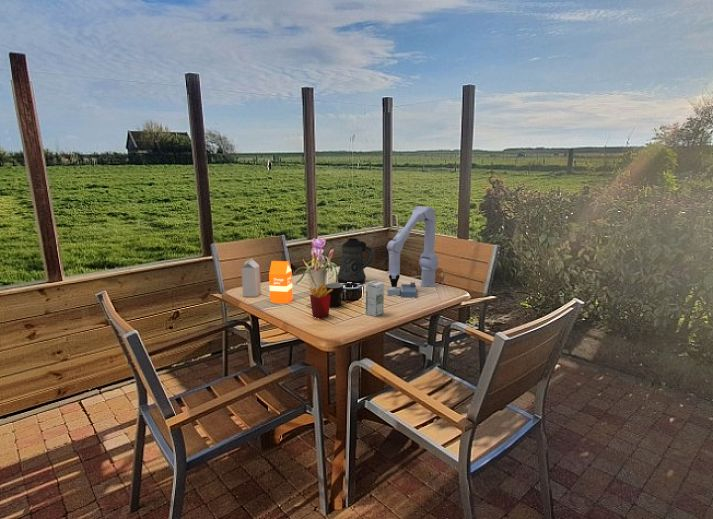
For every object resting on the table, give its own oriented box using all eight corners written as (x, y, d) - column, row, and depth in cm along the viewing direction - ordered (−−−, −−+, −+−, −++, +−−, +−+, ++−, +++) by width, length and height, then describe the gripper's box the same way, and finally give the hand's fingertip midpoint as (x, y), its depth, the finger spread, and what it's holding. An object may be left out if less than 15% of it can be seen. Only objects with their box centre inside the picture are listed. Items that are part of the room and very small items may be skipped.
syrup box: (373, 311, 192) (373, 280, 189) (383, 313, 188) (384, 282, 185) (365, 314, 188) (365, 282, 185) (376, 317, 184) (376, 284, 181)
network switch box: (401, 289, 226) (401, 281, 225) (415, 290, 225) (415, 282, 224) (400, 297, 212) (401, 288, 211) (415, 297, 211) (416, 289, 210)
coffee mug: (335, 309, 194) (335, 288, 192) (321, 306, 199) (321, 285, 197) (351, 303, 203) (351, 283, 201) (337, 300, 208) (337, 280, 206)
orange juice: (287, 303, 203) (285, 263, 199) (270, 302, 205) (268, 262, 201) (292, 298, 211) (291, 259, 207) (276, 298, 212) (274, 259, 208)
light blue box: (387, 292, 221) (388, 286, 221) (400, 292, 220) (400, 286, 220) (387, 295, 215) (387, 289, 215) (400, 295, 215) (400, 289, 214)
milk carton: (261, 293, 221) (259, 257, 217) (256, 297, 214) (254, 260, 210) (247, 293, 221) (245, 257, 218) (243, 296, 215) (240, 260, 211)
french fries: (309, 316, 185) (308, 283, 182) (324, 312, 191) (323, 280, 187) (322, 321, 179) (322, 287, 176) (337, 317, 184) (336, 283, 181)
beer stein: (334, 279, 248) (333, 237, 243) (365, 276, 254) (365, 235, 249) (341, 286, 233) (340, 241, 228) (374, 283, 238) (374, 239, 233)
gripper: (387, 260, 226) (387, 284, 229) (386, 266, 212) (385, 292, 215) (400, 260, 225) (400, 285, 228) (400, 266, 211) (399, 292, 214)
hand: (394, 288), depth 222 cm, fingers closed
